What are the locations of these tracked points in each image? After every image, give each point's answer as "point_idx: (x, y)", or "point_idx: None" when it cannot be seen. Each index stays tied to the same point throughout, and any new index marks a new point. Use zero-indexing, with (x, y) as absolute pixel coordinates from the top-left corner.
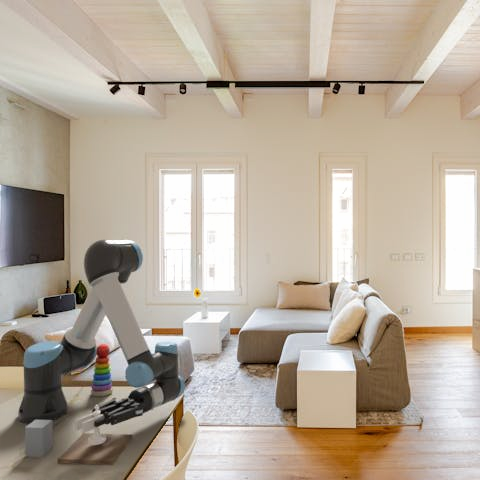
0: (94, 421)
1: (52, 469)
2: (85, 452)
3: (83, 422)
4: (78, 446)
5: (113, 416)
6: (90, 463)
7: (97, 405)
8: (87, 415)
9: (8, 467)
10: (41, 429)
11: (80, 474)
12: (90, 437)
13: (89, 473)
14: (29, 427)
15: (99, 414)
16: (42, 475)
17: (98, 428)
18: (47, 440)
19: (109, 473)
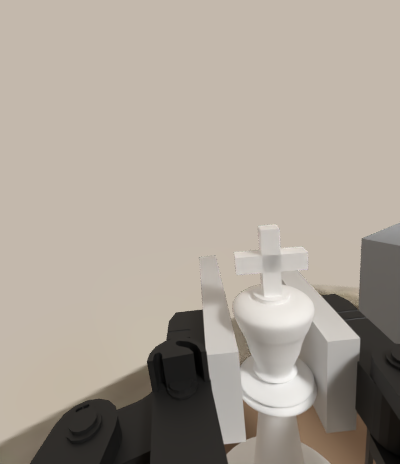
0: (200, 312)
1: (244, 338)
2: (248, 437)
3: (206, 258)
4: (353, 447)
5: (63, 419)
6: None
7: (258, 232)
8: (304, 284)
9: (338, 290)
10: (365, 244)
11: (137, 374)
12: (308, 456)
13: (110, 394)
14: (392, 226)
15: (241, 330)
16: (232, 318)
17: (258, 441)
18: (397, 315)
19: (20, 444)
